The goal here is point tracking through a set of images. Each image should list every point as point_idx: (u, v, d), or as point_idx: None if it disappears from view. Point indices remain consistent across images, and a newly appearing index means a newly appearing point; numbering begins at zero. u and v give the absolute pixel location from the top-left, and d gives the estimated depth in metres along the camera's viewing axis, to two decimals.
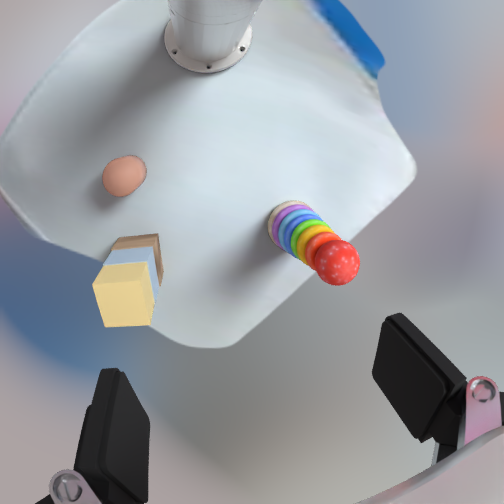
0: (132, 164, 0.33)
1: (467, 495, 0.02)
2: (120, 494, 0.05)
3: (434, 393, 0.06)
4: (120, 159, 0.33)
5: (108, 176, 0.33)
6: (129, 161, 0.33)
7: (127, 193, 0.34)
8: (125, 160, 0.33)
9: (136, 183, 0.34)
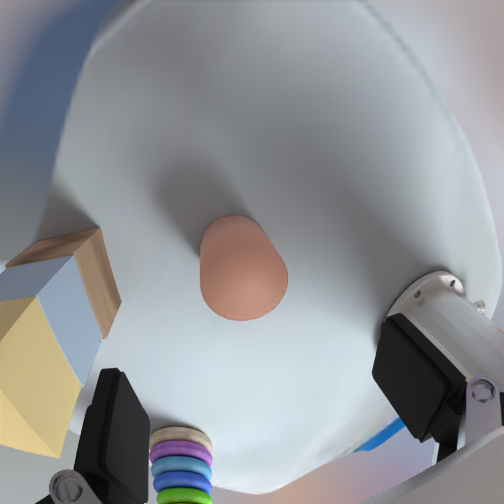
0: (272, 306, 0.17)
1: (467, 495, 0.02)
2: (120, 494, 0.05)
3: (434, 393, 0.06)
4: (284, 281, 0.17)
5: (248, 255, 0.16)
6: (278, 299, 0.17)
7: (208, 301, 0.17)
8: (281, 291, 0.17)
9: (231, 317, 0.17)
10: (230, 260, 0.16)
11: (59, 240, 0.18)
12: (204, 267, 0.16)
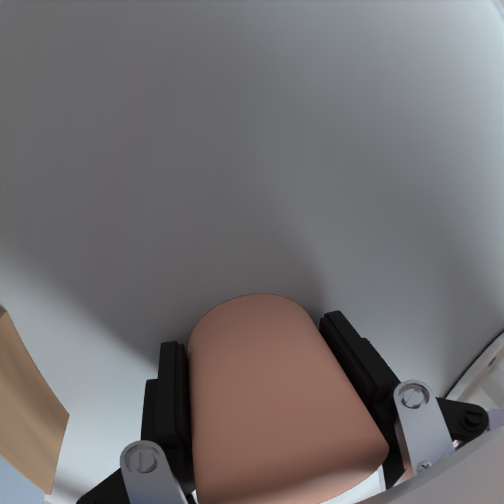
0: (341, 492, 0.06)
1: (467, 495, 0.02)
2: (189, 462, 0.06)
3: (361, 393, 0.07)
4: (377, 464, 0.06)
5: (317, 461, 0.05)
6: (356, 483, 0.06)
7: None
8: (365, 476, 0.06)
9: None
10: (270, 475, 0.05)
11: None
12: (203, 485, 0.05)
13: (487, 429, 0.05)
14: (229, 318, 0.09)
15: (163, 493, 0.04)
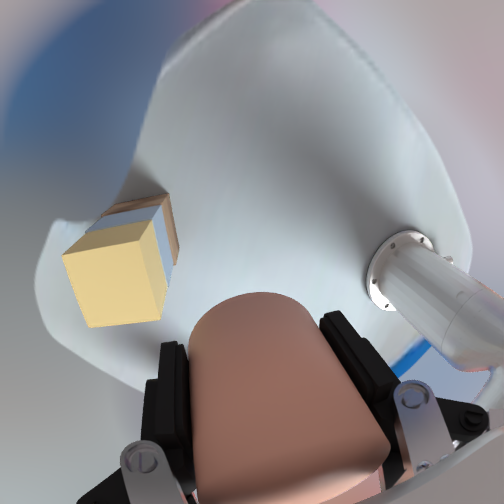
0: (342, 491, 0.06)
1: (467, 495, 0.02)
2: (189, 462, 0.06)
3: (361, 393, 0.07)
4: (378, 463, 0.06)
5: (319, 460, 0.05)
6: (357, 482, 0.06)
7: None
8: (367, 475, 0.06)
9: None
10: (272, 474, 0.05)
11: (139, 201, 0.29)
12: (205, 484, 0.05)
13: (487, 429, 0.05)
14: (230, 316, 0.09)
15: (163, 493, 0.04)
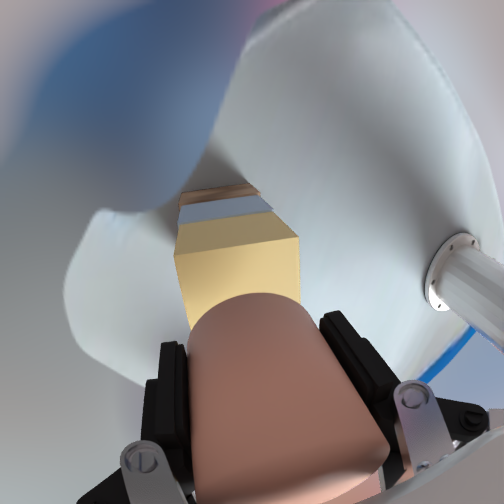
0: (341, 492, 0.06)
1: (467, 495, 0.02)
2: (189, 462, 0.06)
3: (360, 393, 0.07)
4: (378, 464, 0.06)
5: (318, 462, 0.05)
6: (356, 483, 0.06)
7: None
8: (366, 476, 0.06)
9: None
10: (270, 475, 0.05)
11: (218, 190, 0.25)
12: (203, 486, 0.05)
13: (487, 429, 0.05)
14: (229, 317, 0.09)
15: (163, 493, 0.04)
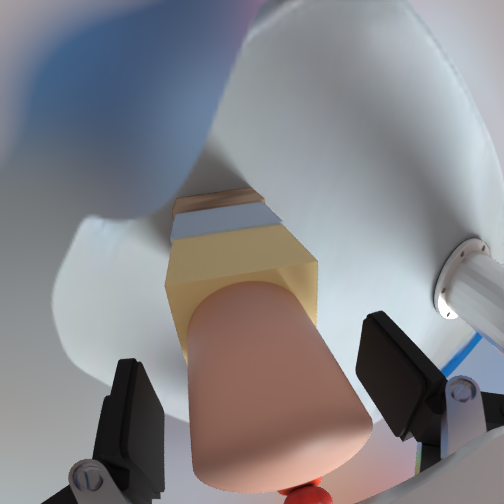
0: (330, 469, 0.07)
1: (467, 495, 0.02)
2: (139, 483, 0.05)
3: (412, 391, 0.07)
4: (363, 440, 0.07)
5: (303, 428, 0.06)
6: (344, 460, 0.07)
7: (212, 483, 0.06)
8: (352, 452, 0.07)
9: (255, 491, 0.07)
10: (260, 440, 0.06)
11: (217, 195, 0.23)
12: (199, 451, 0.06)
13: None
14: (225, 302, 0.10)
15: None
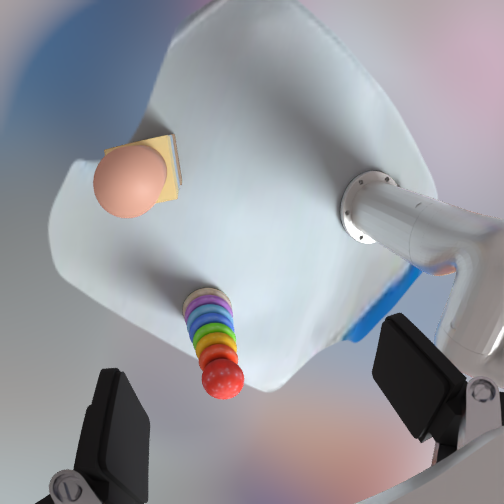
0: (151, 203, 0.19)
1: (467, 495, 0.02)
2: (120, 494, 0.05)
3: (434, 393, 0.06)
4: (159, 179, 0.19)
5: (128, 158, 0.18)
6: (156, 196, 0.19)
7: (100, 199, 0.18)
8: (158, 189, 0.19)
9: (119, 214, 0.19)
10: (114, 162, 0.18)
11: None
12: (96, 170, 0.17)
13: None
14: None
15: None
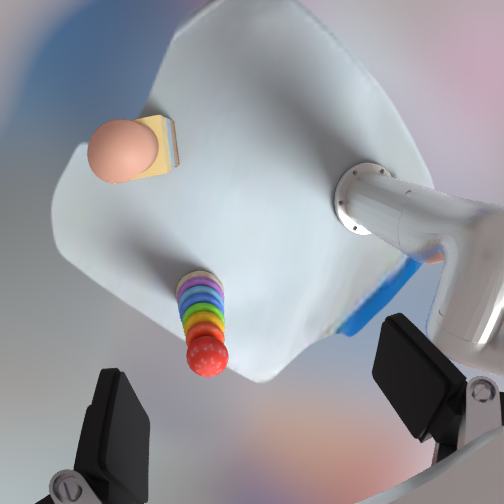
0: (137, 170, 0.20)
1: (467, 495, 0.02)
2: (120, 494, 0.05)
3: (434, 393, 0.06)
4: (145, 148, 0.20)
5: (118, 129, 0.19)
6: (142, 164, 0.20)
7: (92, 166, 0.19)
8: (143, 157, 0.20)
9: (108, 180, 0.20)
10: (106, 133, 0.19)
11: None
12: (90, 140, 0.19)
13: None
14: None
15: None
